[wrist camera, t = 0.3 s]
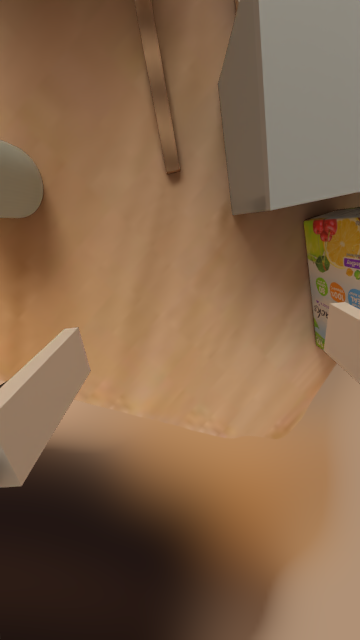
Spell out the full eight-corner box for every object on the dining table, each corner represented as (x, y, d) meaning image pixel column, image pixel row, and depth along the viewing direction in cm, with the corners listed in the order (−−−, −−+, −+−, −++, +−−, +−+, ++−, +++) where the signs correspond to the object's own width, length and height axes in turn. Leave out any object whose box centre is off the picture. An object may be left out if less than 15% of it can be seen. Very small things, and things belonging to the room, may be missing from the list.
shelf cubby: (217, 84, 30) (255, -60, 15) (394, 39, 29) (642, -174, 13) (232, 215, 36) (270, 210, 20) (381, 183, 34) (546, 152, 19)
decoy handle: (123, -39, 27) (101, -139, 19) (146, -45, 27) (132, -149, 19) (164, 174, 34) (160, 161, 27) (182, 170, 34) (182, 156, 27)
